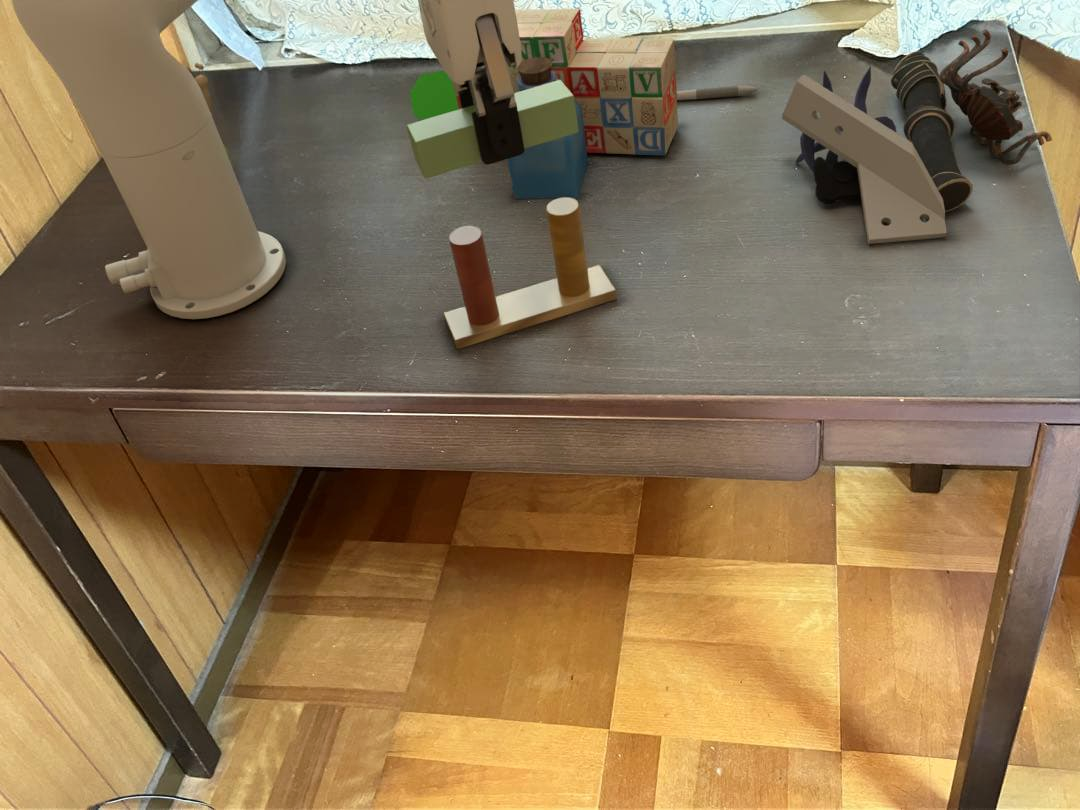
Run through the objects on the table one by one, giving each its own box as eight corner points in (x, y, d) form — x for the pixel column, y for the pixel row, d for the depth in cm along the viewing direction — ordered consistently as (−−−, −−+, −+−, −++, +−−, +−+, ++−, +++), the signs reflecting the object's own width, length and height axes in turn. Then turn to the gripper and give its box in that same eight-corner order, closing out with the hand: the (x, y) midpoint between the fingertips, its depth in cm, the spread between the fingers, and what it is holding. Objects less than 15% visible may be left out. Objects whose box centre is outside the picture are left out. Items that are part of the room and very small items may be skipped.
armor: (983, 183, 83) (947, 44, 100) (918, 174, 83) (894, 36, 100) (964, 225, 86) (933, 83, 103) (902, 216, 86) (881, 75, 103)
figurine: (812, 61, 88) (785, 102, 96) (813, 191, 86) (786, 222, 94) (917, 68, 89) (883, 108, 97) (921, 198, 87) (885, 228, 95)
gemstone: (474, 108, 108) (482, 110, 114) (444, 58, 107) (453, 63, 113) (428, 139, 110) (438, 139, 115) (398, 90, 109) (409, 93, 114)
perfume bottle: (577, 198, 96) (561, 80, 88) (514, 198, 98) (493, 82, 89) (588, 163, 100) (574, 48, 92) (528, 164, 102) (508, 50, 94)
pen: (624, 108, 107) (624, 102, 108) (758, 97, 105) (757, 91, 106) (623, 99, 107) (624, 93, 108) (758, 88, 104) (757, 82, 105)
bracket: (780, 101, 91) (797, 250, 86) (782, 76, 87) (800, 229, 82) (918, 86, 89) (944, 237, 84) (926, 60, 86) (954, 215, 81)
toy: (957, 15, 92) (908, 50, 93) (1012, 38, 82) (956, 76, 83) (1013, 123, 97) (965, 155, 98) (1072, 158, 86) (1017, 192, 88)
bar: (565, 115, 77) (560, 79, 75) (579, 132, 75) (574, 95, 73) (415, 160, 75) (406, 124, 73) (424, 179, 73) (415, 142, 71)
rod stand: (457, 349, 82) (433, 260, 76) (445, 321, 85) (422, 233, 79) (617, 299, 84) (607, 207, 78) (600, 273, 87) (589, 183, 81)
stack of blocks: (680, 125, 103) (674, 6, 94) (666, 157, 99) (659, 36, 90) (485, 119, 110) (464, 7, 101) (465, 149, 105) (441, 35, 97)
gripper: (361, -134, 68) (423, 115, 80) (414, -64, 56) (477, 215, 69) (467, -161, 69) (512, 89, 81) (541, -98, 57) (580, 183, 70)
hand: (496, 144), depth 75 cm, fingers closed on bar, 3 cm apart
